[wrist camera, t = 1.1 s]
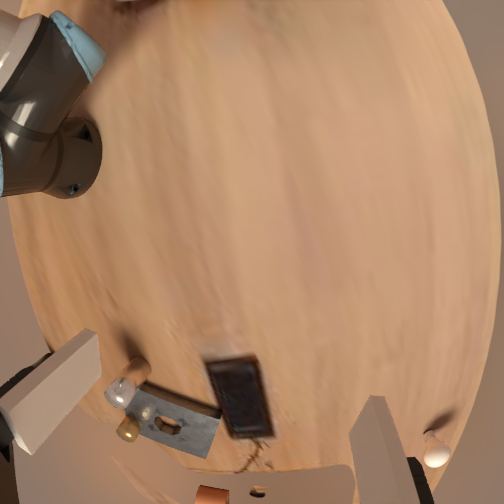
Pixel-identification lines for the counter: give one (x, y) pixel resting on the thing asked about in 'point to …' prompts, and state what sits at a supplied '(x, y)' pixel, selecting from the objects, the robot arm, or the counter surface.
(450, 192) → the counter surface
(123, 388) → the rounded peg
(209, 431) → the plate
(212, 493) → the crank
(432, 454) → the lightbulb
